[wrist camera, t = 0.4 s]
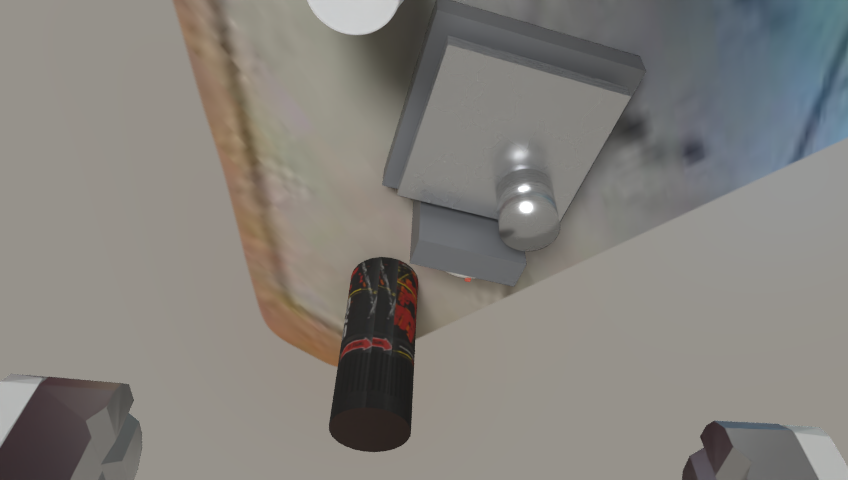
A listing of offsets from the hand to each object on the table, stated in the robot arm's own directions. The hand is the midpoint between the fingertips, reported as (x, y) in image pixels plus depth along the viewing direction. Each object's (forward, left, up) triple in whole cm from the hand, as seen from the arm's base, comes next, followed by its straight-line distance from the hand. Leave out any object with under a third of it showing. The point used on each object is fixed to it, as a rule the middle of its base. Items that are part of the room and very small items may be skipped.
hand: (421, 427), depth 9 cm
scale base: (+17, +9, -36) cm, 41 cm away
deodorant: (+34, +5, -36) cm, 50 cm away
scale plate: (+15, +9, -33) cm, 37 cm away
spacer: (+18, +12, -32) cm, 38 cm away
